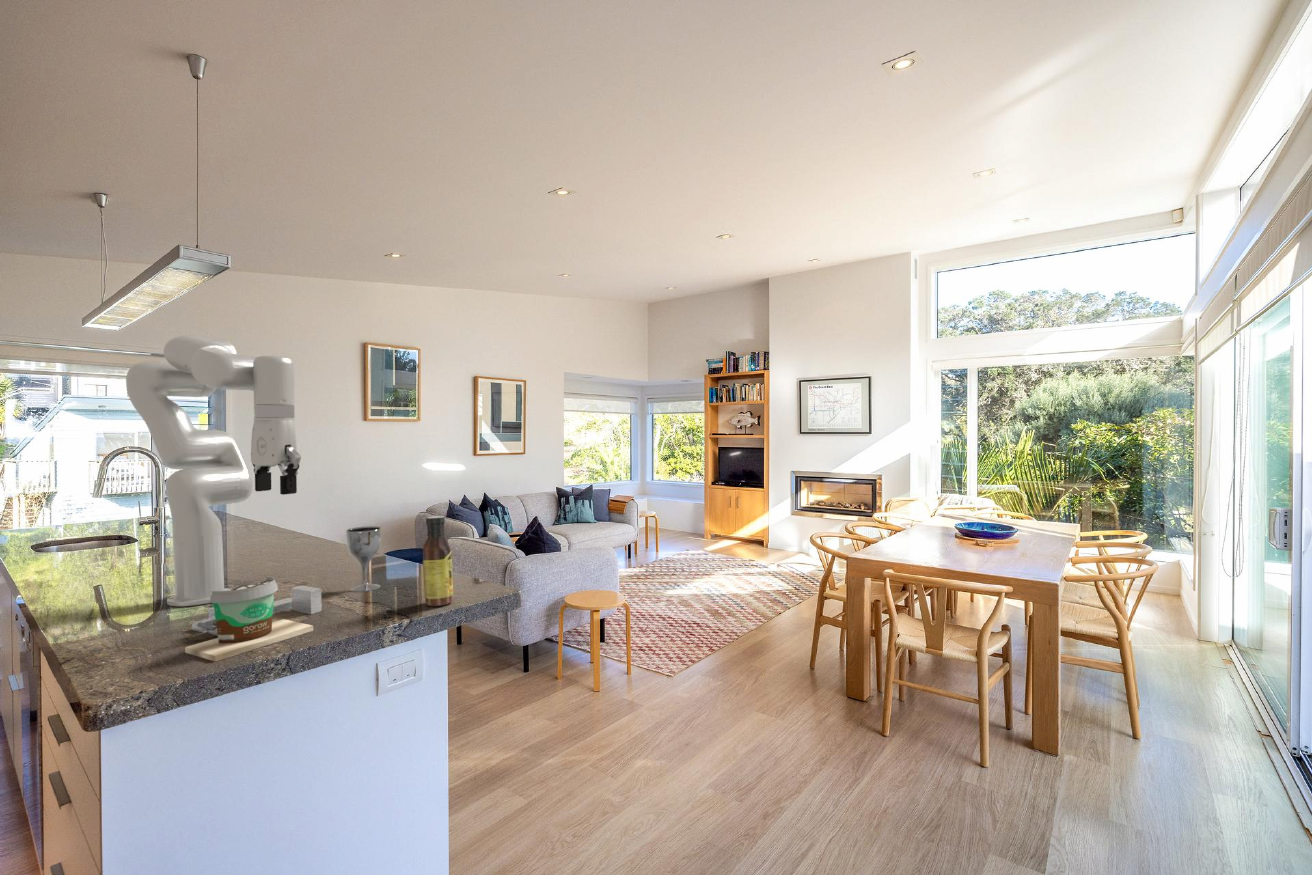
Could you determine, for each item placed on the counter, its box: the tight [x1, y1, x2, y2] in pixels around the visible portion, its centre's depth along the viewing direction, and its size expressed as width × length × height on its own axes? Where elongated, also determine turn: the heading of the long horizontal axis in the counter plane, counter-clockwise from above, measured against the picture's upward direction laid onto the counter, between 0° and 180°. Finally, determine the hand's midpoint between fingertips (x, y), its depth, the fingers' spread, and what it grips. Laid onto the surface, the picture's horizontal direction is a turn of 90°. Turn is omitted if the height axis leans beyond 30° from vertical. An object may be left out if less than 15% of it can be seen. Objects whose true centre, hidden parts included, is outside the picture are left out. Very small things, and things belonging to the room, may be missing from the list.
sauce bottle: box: [422, 515, 454, 607], centre depth 143 cm, size 6×6×20 cm
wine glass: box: [345, 525, 382, 593], centre depth 158 cm, size 8×8×15 cm
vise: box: [191, 585, 323, 636], centre depth 132 cm, size 12×22×5 cm, turn 152°
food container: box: [209, 576, 279, 644], centre depth 120 cm, size 12×6×10 cm, turn 163°
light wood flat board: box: [184, 618, 314, 663], centre depth 120 cm, size 10×18×1 cm, turn 152°
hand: (275, 492), depth 136 cm, fingers open, 9 cm apart
